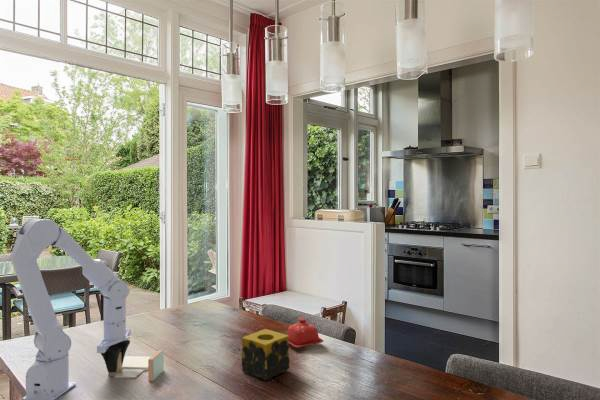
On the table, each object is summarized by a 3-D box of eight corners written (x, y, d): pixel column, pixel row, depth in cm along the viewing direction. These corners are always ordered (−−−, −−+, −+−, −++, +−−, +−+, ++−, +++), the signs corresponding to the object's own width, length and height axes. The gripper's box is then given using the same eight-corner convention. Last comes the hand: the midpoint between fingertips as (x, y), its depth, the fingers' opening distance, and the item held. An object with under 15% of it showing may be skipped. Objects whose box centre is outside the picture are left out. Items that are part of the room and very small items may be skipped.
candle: (265, 360, 126) (265, 328, 126) (290, 369, 120) (290, 334, 120) (240, 371, 118) (240, 336, 118) (266, 381, 112) (265, 344, 112)
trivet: (147, 370, 119) (147, 367, 119) (107, 369, 120) (107, 366, 120) (158, 360, 127) (158, 357, 127) (121, 359, 128) (121, 356, 128)
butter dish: (280, 340, 145) (280, 316, 145) (309, 335, 150) (309, 312, 150) (295, 351, 135) (295, 325, 135) (325, 345, 140) (325, 320, 140)
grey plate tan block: (135, 379, 113) (135, 357, 113) (105, 378, 114) (105, 356, 114) (143, 371, 118) (143, 350, 118) (115, 370, 119) (115, 349, 119)
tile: (153, 381, 112) (153, 359, 112) (148, 381, 112) (148, 359, 112) (163, 371, 119) (163, 350, 119) (159, 370, 119) (159, 350, 119)
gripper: (114, 329, 109) (114, 381, 109) (140, 314, 123) (140, 359, 123) (89, 328, 109) (89, 380, 109) (117, 314, 124) (118, 359, 124)
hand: (114, 369), depth 116 cm, fingers closed on grey plate tan block, 2 cm apart
